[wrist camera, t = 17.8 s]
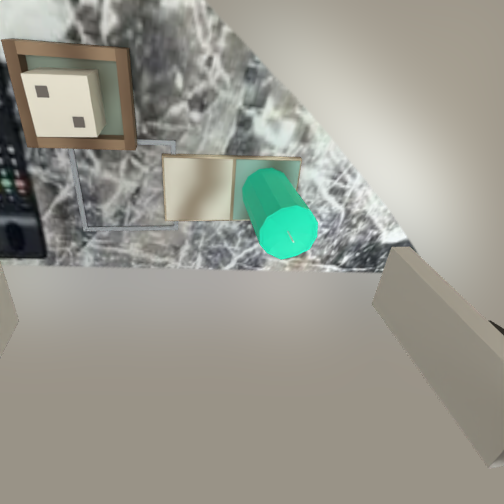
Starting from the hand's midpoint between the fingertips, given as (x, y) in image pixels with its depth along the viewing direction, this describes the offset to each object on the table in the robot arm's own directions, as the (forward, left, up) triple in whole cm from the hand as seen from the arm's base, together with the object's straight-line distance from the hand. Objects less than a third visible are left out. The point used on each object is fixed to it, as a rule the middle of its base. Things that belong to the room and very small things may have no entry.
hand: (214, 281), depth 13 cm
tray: (-10, +1, -30) cm, 32 cm away
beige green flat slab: (+5, -9, -30) cm, 32 cm away
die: (-11, +1, -30) cm, 32 cm away
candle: (+9, -9, -30) cm, 32 cm away
